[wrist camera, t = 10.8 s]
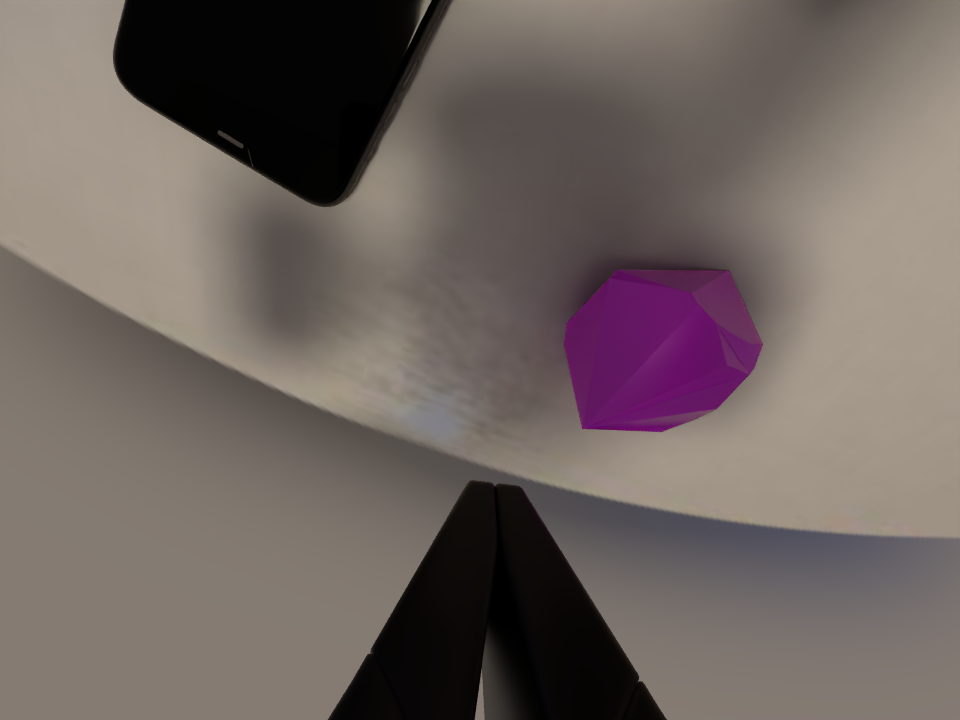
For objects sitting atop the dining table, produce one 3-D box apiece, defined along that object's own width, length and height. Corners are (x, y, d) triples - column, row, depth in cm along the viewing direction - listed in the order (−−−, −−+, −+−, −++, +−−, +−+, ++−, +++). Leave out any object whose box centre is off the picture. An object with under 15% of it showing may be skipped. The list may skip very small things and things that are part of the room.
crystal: (671, 390, 21) (715, 468, 17) (545, 354, 20) (558, 426, 16) (741, 273, 19) (811, 332, 14) (600, 227, 18) (632, 275, 14)
